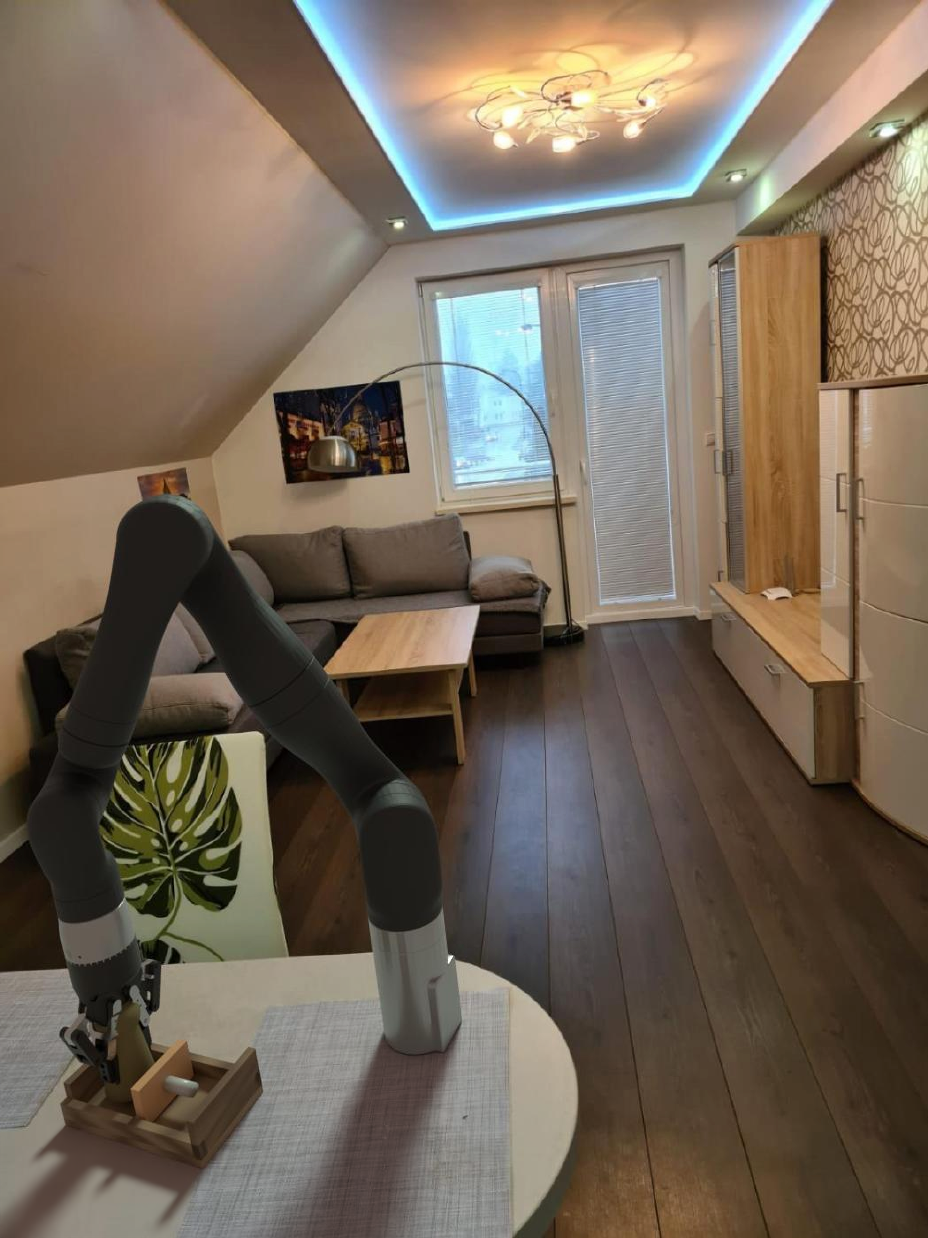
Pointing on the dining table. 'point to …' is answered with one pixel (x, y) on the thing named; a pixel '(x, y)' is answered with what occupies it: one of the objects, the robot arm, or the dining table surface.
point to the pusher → (164, 1082)
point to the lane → (170, 1108)
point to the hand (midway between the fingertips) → (129, 1066)
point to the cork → (128, 1053)
